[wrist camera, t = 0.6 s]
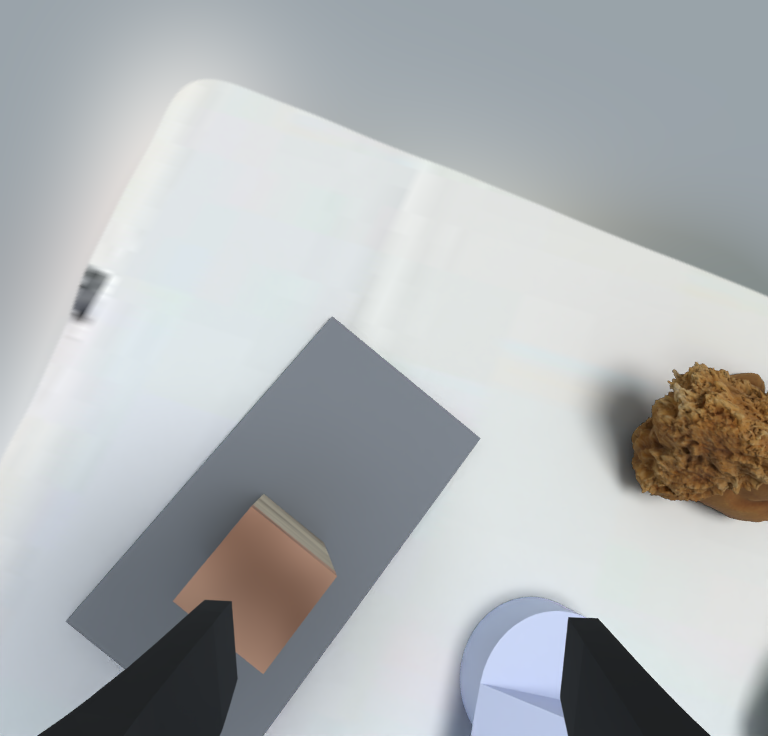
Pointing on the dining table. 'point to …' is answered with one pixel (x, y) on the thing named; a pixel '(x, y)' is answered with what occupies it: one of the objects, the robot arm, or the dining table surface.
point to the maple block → (263, 580)
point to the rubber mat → (292, 508)
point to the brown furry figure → (708, 443)
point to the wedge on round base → (516, 669)
